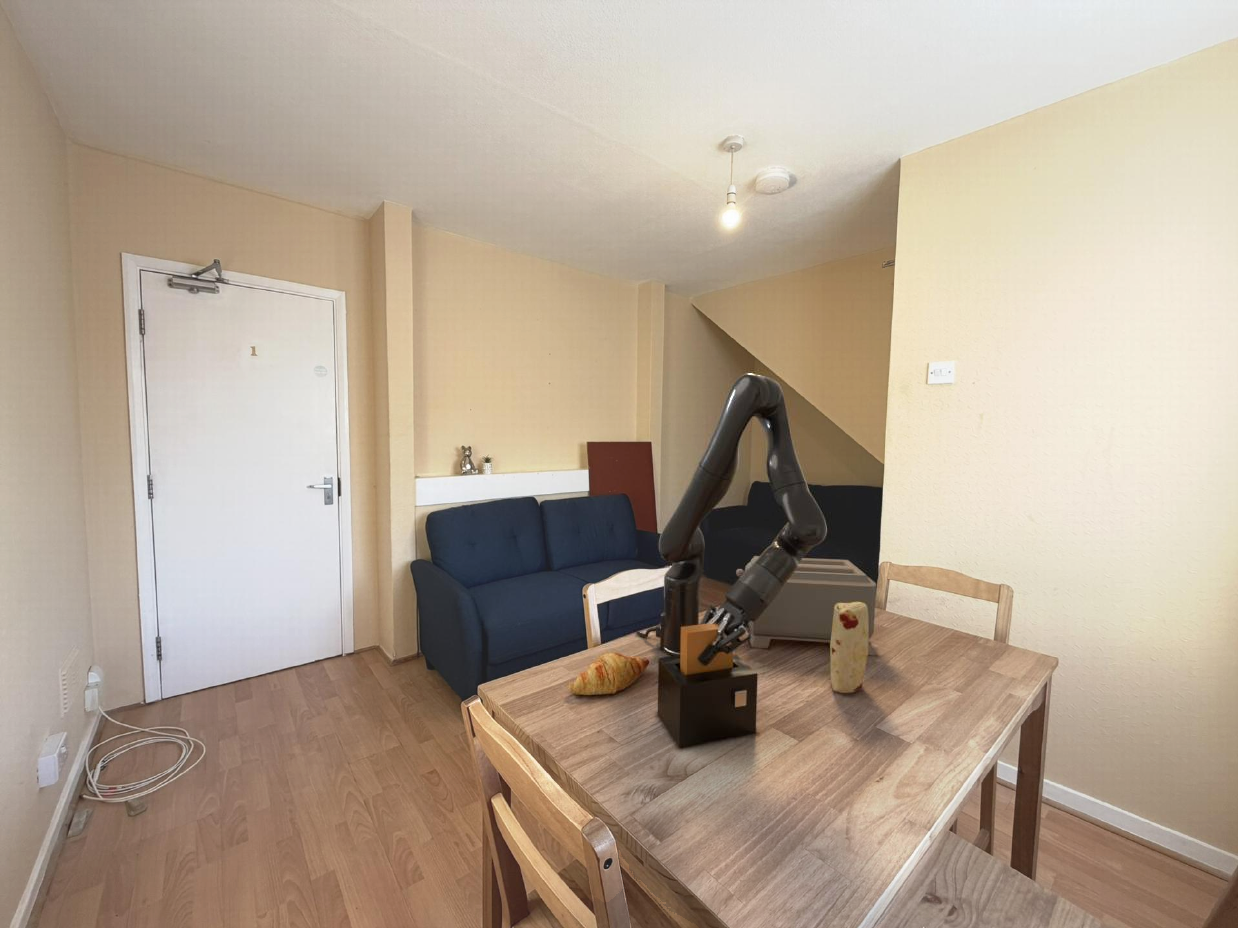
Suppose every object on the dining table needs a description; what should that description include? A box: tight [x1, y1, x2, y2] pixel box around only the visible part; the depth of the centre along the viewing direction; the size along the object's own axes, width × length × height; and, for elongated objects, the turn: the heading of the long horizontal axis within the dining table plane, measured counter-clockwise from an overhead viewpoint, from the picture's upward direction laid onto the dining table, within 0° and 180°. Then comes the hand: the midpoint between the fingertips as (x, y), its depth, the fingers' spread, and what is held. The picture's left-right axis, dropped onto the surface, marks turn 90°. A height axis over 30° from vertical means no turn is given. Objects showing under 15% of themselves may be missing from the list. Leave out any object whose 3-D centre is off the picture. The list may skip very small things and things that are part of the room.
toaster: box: [735, 555, 877, 656], centre depth 137 cm, size 19×35×20 cm, turn 82°
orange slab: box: [680, 623, 734, 675], centre depth 95 cm, size 3×10×10 cm, turn 107°
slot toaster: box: [657, 651, 759, 749], centre depth 95 cm, size 12×16×12 cm
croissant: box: [568, 652, 650, 696], centre depth 111 cm, size 21×10×8 cm, turn 125°
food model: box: [829, 602, 869, 694], centre depth 109 cm, size 10×7×20 cm
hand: (697, 658), depth 95 cm, fingers closed on orange slab, 3 cm apart
